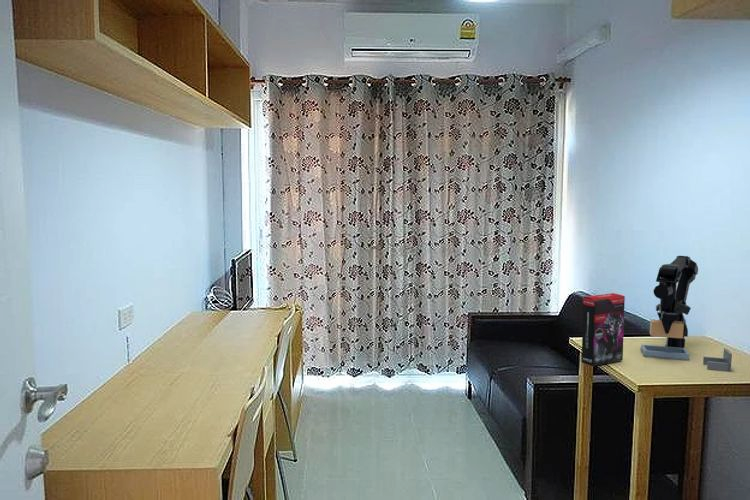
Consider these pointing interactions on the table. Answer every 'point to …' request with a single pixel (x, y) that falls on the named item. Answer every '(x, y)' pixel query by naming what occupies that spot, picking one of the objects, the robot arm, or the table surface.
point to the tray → (664, 352)
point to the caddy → (659, 331)
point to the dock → (719, 362)
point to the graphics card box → (602, 329)
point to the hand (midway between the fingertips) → (665, 332)
